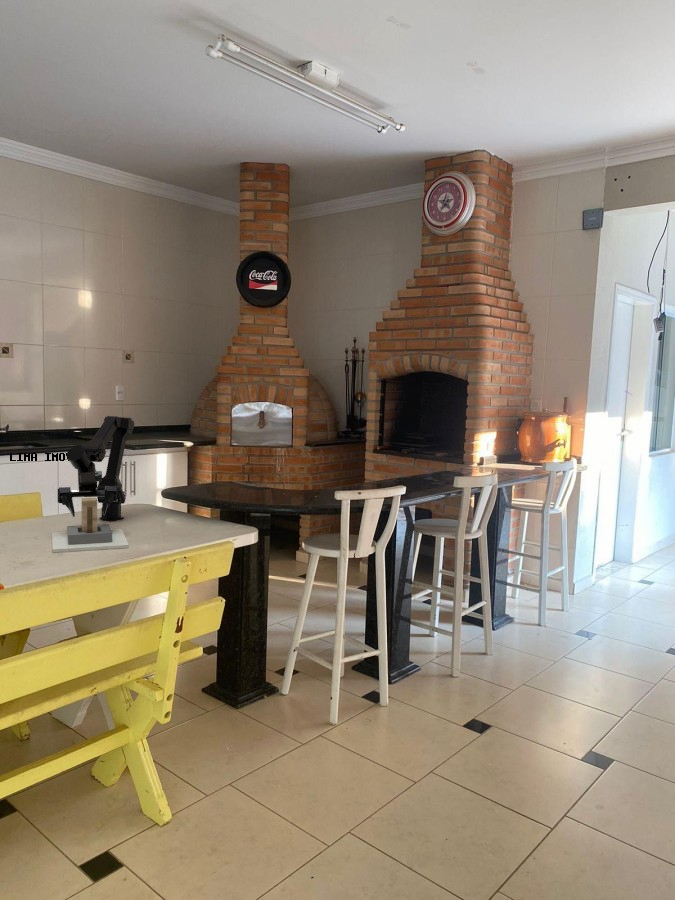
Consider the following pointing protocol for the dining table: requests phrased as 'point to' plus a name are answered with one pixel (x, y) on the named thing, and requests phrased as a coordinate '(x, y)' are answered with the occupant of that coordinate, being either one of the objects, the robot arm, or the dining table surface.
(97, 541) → the socket block
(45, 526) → the dining table surface
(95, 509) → the keyed peg
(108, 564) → the dining table surface
